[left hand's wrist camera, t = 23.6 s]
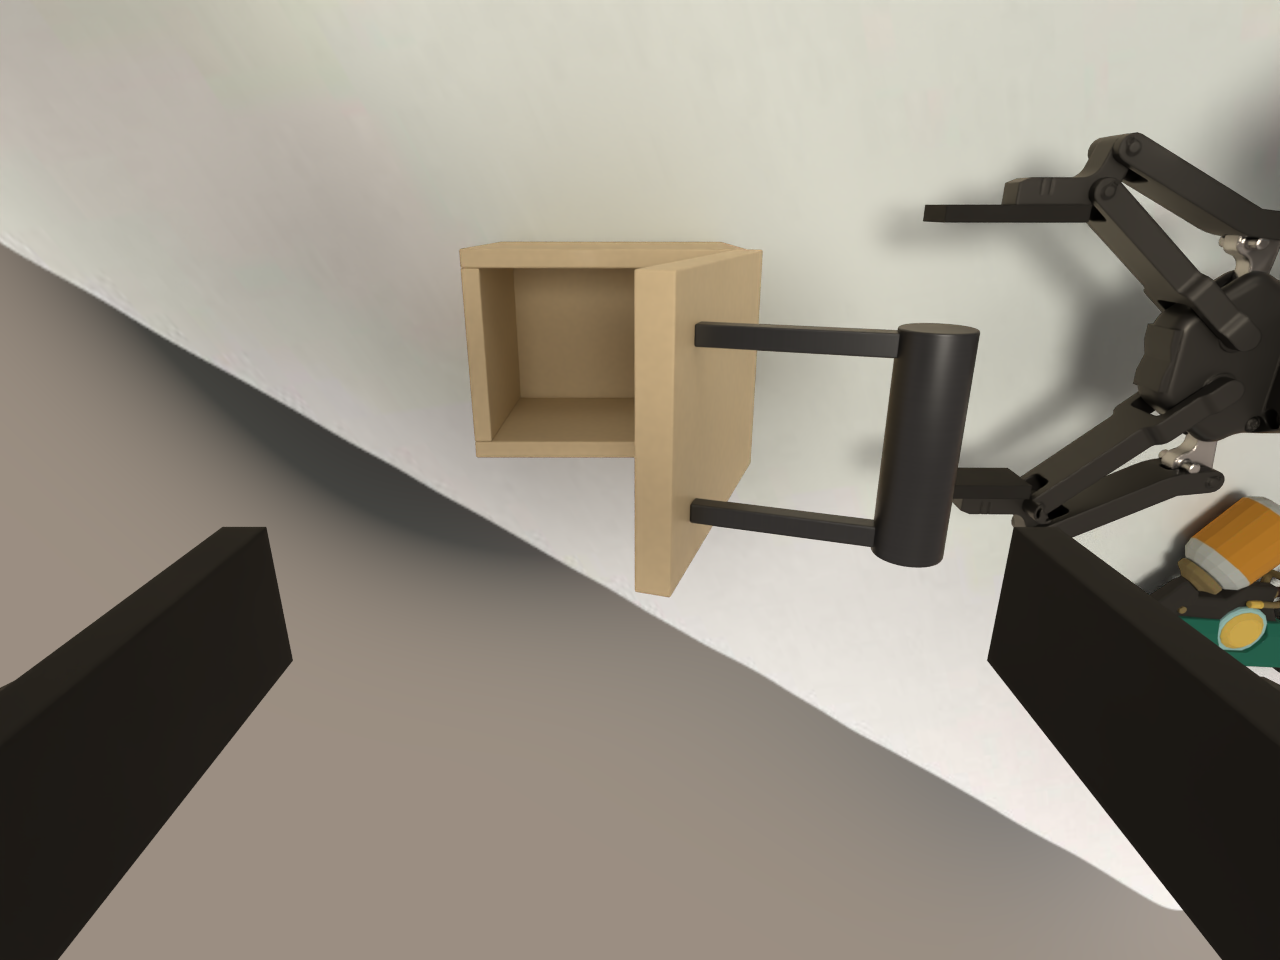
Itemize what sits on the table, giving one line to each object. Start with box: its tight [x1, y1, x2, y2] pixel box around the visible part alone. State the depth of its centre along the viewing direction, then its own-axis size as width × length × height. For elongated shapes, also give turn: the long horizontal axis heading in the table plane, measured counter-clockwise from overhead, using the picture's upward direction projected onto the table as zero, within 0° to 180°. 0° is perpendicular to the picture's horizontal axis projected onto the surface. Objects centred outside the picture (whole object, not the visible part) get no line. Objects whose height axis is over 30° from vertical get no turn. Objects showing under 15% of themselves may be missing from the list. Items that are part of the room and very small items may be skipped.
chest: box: [459, 242, 746, 457], centre depth 39 cm, size 13×10×10 cm
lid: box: [634, 249, 980, 597], centre depth 26 cm, size 14×10×9 cm
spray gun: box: [1150, 497, 1280, 673], centre depth 48 cm, size 4×17×15 cm
